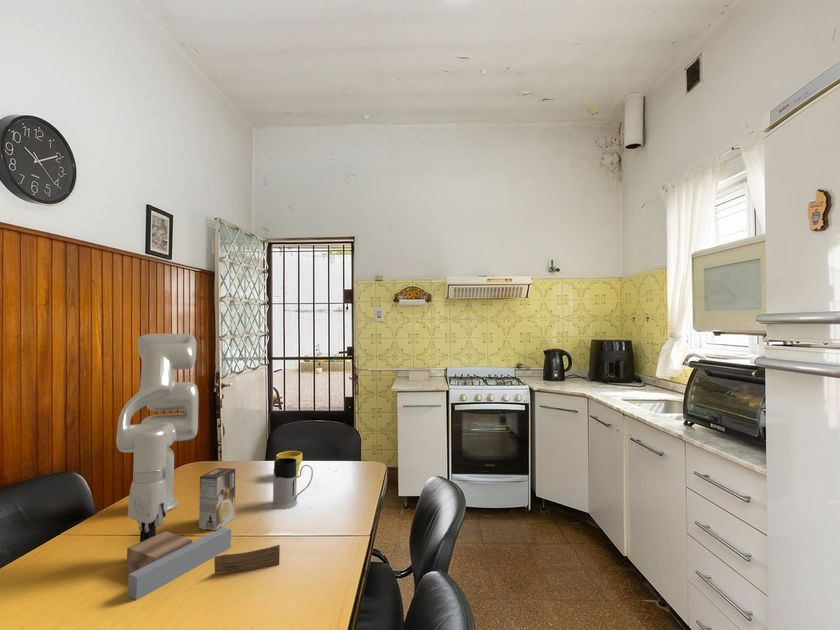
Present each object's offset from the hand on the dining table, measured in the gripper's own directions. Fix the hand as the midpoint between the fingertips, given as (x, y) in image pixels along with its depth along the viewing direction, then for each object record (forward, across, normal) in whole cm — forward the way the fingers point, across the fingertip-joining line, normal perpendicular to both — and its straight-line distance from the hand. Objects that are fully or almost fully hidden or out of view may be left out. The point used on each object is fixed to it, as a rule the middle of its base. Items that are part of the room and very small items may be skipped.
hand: (147, 544), depth 114 cm
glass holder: (+3, +11, +44) cm, 46 cm away
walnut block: (+4, +8, -2) cm, 8 cm away
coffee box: (+3, 0, +22) cm, 22 cm away
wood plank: (+4, +29, +7) cm, 30 cm away
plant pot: (+3, -9, +65) cm, 66 cm away
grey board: (+3, +15, 0) cm, 15 cm away
